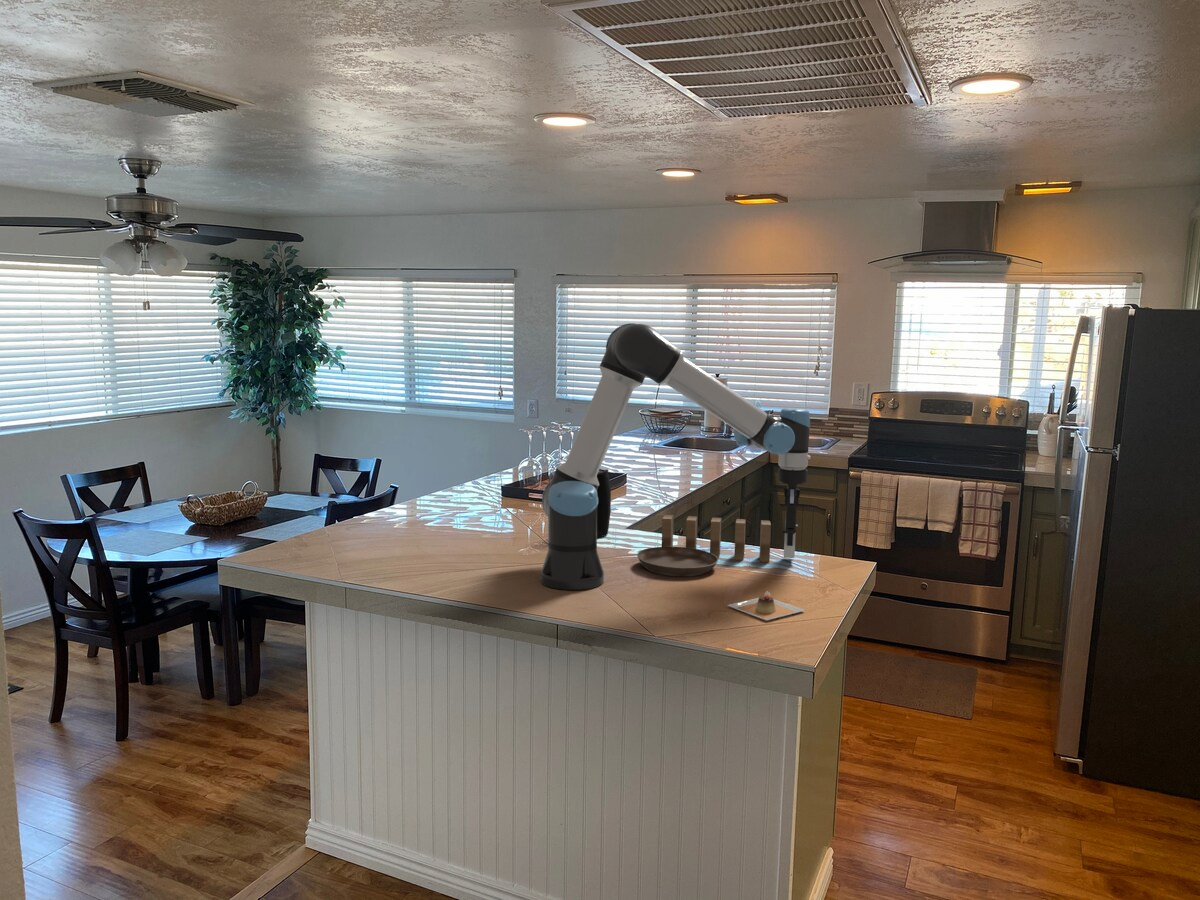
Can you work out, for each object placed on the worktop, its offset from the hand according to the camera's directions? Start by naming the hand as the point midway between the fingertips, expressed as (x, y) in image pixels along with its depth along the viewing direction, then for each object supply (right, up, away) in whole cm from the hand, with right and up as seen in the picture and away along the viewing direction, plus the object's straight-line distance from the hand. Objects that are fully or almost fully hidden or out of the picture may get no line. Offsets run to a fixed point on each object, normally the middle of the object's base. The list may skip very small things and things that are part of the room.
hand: (789, 554), depth 234 cm
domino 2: (-25, -1, +6) cm, 26 cm away
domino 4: (-13, -1, +3) cm, 13 cm away
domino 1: (-32, 0, +7) cm, 33 cm away
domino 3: (-19, -1, +4) cm, 20 cm away
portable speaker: (-52, +2, +26) cm, 58 cm away
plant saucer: (-30, -3, -8) cm, 31 cm away
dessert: (-14, -8, -41) cm, 44 cm away
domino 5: (-6, -1, +2) cm, 7 cm away
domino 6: (0, 0, 0) cm, 0 cm away
